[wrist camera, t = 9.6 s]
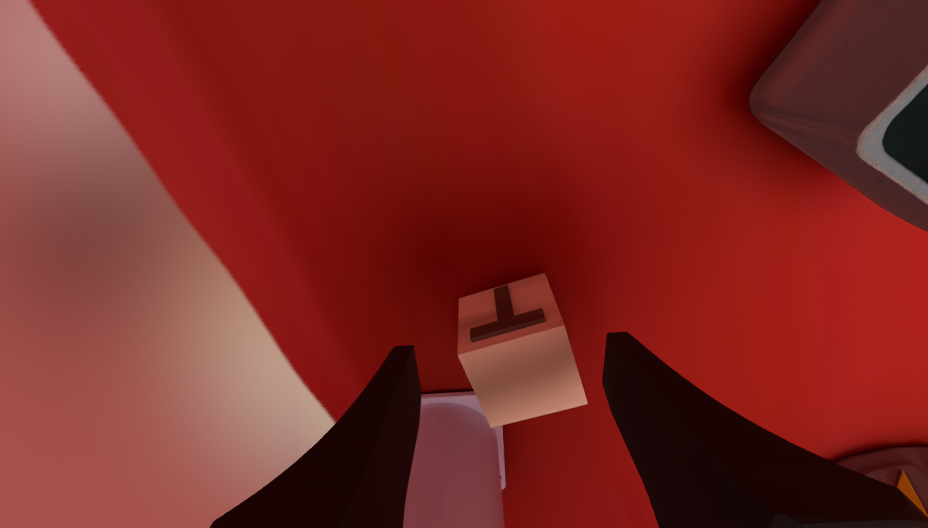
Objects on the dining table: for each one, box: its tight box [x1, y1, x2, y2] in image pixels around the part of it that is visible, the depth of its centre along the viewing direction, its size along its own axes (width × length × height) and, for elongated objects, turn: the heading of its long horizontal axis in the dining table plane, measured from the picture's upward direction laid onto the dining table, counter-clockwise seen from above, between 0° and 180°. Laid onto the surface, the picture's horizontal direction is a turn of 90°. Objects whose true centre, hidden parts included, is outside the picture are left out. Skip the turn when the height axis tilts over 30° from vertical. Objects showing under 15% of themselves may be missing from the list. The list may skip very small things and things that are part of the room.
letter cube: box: [458, 273, 588, 428], centre depth 21 cm, size 5×5×5 cm
